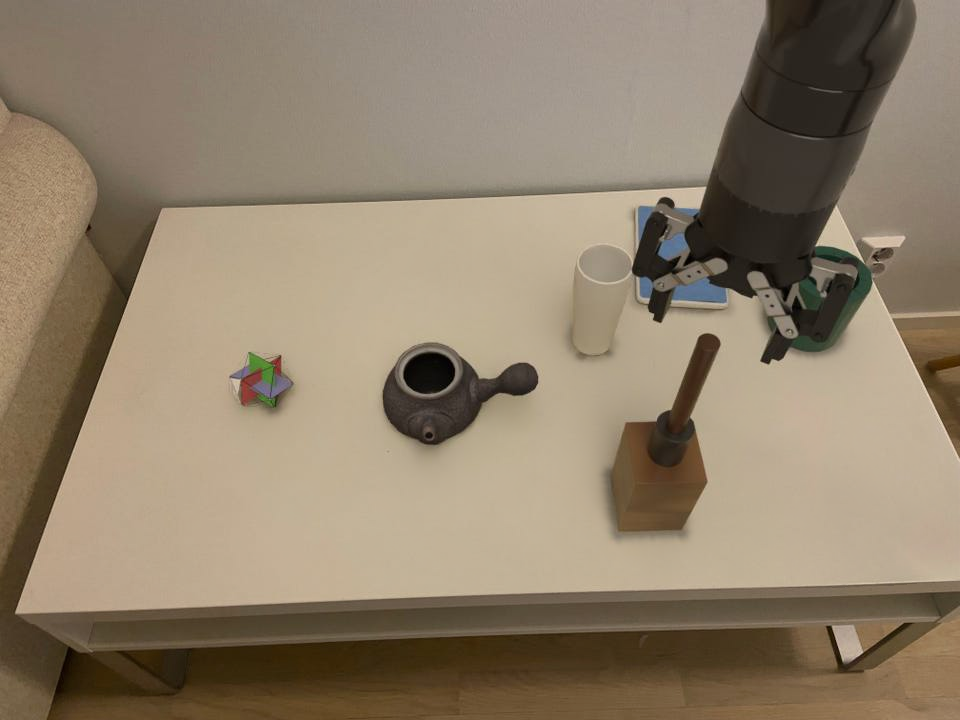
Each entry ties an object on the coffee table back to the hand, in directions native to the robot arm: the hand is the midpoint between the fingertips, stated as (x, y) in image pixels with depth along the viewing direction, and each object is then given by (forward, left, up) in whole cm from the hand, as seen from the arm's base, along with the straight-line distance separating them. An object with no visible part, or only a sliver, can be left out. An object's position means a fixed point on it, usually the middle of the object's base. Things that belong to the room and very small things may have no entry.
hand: (713, 334), depth 55 cm
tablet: (+10, -38, -31) cm, 50 cm away
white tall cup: (+15, -18, -31) cm, 39 cm away
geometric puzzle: (+48, +9, -31) cm, 58 cm away
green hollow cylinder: (-9, -34, -31) cm, 47 cm away
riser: (0, 0, -31) cm, 31 cm away
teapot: (+25, 0, -31) cm, 40 cm away
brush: (0, 0, -19) cm, 19 cm away
